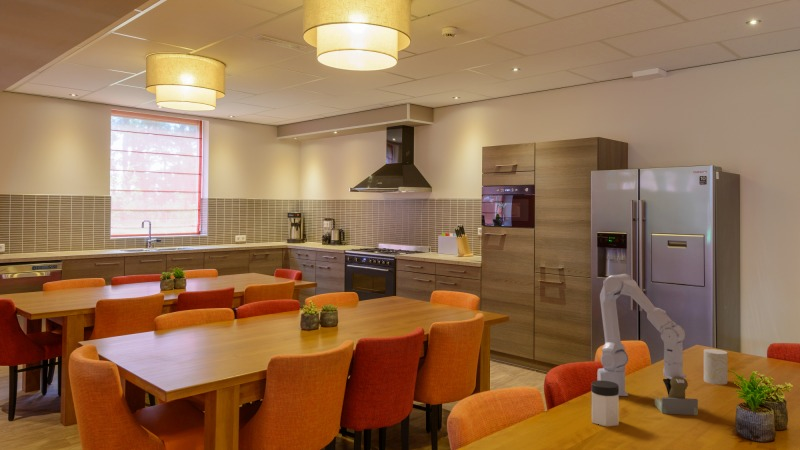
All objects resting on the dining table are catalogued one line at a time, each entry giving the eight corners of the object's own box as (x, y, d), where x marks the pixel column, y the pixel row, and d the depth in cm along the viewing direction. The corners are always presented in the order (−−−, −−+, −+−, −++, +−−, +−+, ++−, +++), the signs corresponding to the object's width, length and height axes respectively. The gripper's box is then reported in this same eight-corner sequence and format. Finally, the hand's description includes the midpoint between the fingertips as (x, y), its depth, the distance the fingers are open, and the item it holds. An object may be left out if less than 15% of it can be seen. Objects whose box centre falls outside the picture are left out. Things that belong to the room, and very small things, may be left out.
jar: (599, 427, 168) (599, 388, 168) (585, 418, 176) (585, 381, 176) (625, 425, 170) (625, 386, 170) (609, 416, 178) (609, 379, 178)
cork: (687, 413, 181) (692, 385, 178) (668, 411, 182) (672, 383, 179) (682, 402, 187) (687, 374, 183) (663, 400, 188) (667, 372, 184)
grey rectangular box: (662, 413, 181) (662, 398, 181) (654, 405, 189) (654, 390, 189) (697, 415, 179) (697, 399, 179) (688, 406, 187) (688, 392, 187)
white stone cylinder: (705, 383, 214) (705, 352, 214) (702, 377, 222) (702, 348, 222) (729, 385, 211) (729, 354, 211) (725, 379, 219) (725, 350, 219)
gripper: (694, 367, 179) (694, 409, 179) (678, 356, 193) (678, 395, 193) (671, 366, 180) (671, 408, 180) (657, 356, 194) (657, 394, 194)
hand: (673, 401), depth 187 cm, fingers closed, pressing on cork
